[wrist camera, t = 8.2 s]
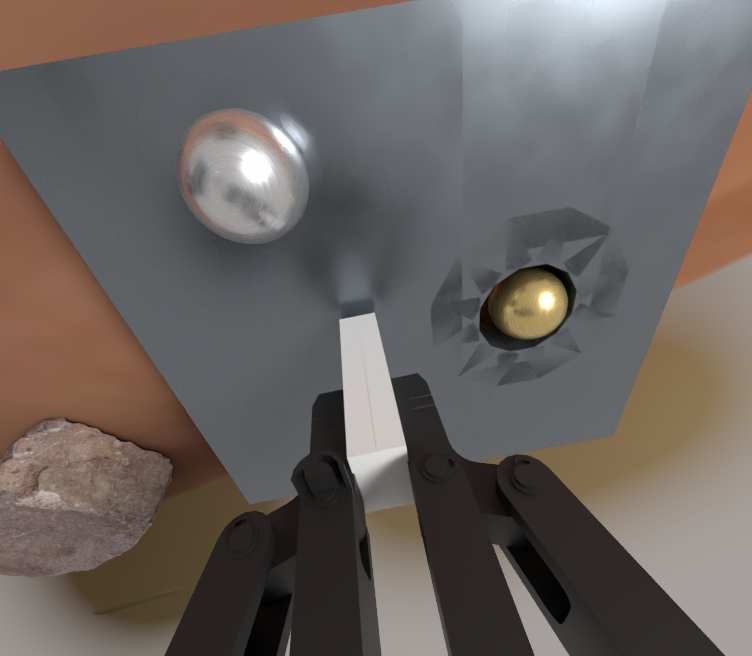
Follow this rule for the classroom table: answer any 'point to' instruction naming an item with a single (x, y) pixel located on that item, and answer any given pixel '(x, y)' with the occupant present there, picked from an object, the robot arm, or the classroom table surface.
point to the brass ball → (528, 303)
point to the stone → (74, 498)
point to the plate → (400, 205)
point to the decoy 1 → (242, 176)
